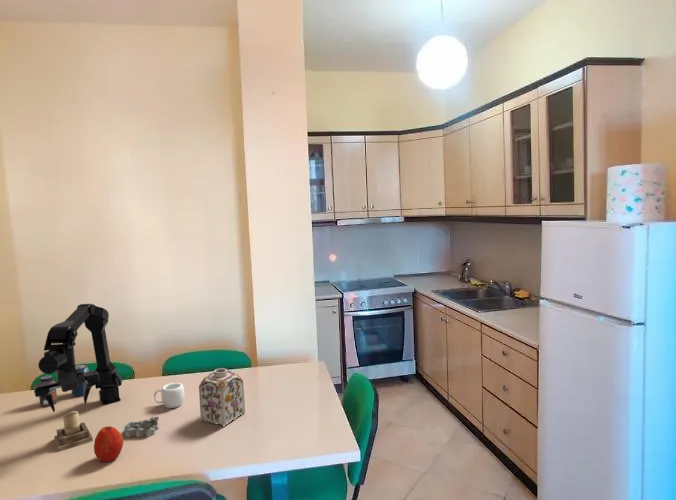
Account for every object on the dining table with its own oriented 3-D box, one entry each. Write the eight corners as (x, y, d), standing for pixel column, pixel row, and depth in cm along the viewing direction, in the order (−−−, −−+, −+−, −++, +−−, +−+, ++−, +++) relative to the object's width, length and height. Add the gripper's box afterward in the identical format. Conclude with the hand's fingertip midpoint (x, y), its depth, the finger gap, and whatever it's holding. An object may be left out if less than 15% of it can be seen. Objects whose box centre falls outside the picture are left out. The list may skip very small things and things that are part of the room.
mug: (188, 400, 186) (187, 381, 185) (180, 410, 178) (178, 390, 177) (159, 400, 187) (157, 381, 186) (149, 410, 178) (148, 390, 177)
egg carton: (161, 427, 165) (160, 416, 165) (152, 438, 158) (151, 426, 157) (131, 427, 166) (130, 416, 165) (121, 438, 158) (120, 427, 158)
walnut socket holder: (87, 429, 165) (86, 420, 164) (92, 440, 157) (91, 431, 156) (54, 439, 159) (53, 429, 158) (58, 451, 151) (57, 441, 150)
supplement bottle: (49, 407, 184) (46, 380, 182) (36, 406, 185) (33, 379, 184) (61, 401, 190) (58, 374, 188) (48, 400, 191) (45, 373, 190)
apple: (128, 450, 150) (125, 419, 148) (117, 465, 141) (114, 432, 140) (102, 452, 149) (99, 420, 148) (89, 466, 141) (86, 433, 140)
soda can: (94, 391, 199) (91, 364, 197) (81, 398, 192) (78, 370, 191) (81, 389, 200) (78, 363, 199) (68, 396, 194) (65, 369, 192)
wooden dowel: (79, 431, 161) (77, 409, 160) (81, 436, 157) (79, 414, 156) (64, 436, 158) (62, 414, 157) (66, 441, 154) (64, 418, 153)
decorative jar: (200, 421, 168) (196, 373, 166) (222, 407, 178) (219, 362, 176) (225, 427, 163) (222, 378, 161) (246, 413, 173) (243, 367, 171)
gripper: (34, 376, 142) (39, 425, 144) (101, 362, 154) (105, 407, 156) (31, 367, 151) (36, 412, 153) (94, 354, 163) (98, 396, 164)
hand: (69, 407), depth 156 cm, fingers open, 9 cm apart
